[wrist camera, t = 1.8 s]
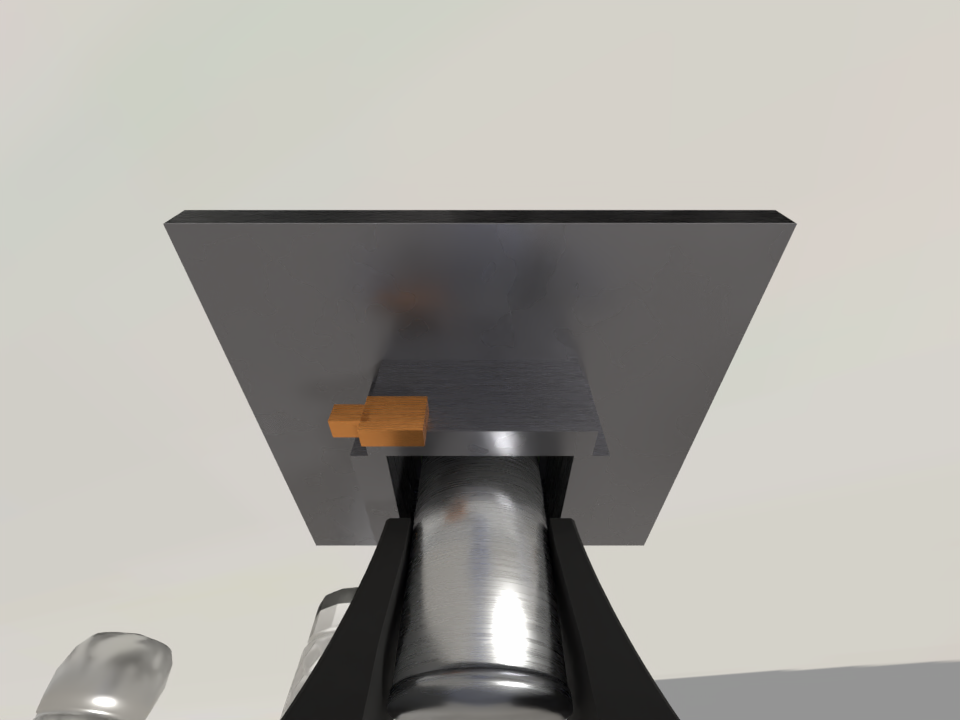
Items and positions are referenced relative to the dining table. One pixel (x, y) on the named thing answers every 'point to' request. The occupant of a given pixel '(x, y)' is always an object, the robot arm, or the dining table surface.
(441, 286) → the stand base
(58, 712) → the plastic bottle
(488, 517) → the silver metal canister
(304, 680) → the white cup
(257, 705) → the dining table surface
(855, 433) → the dining table surface
